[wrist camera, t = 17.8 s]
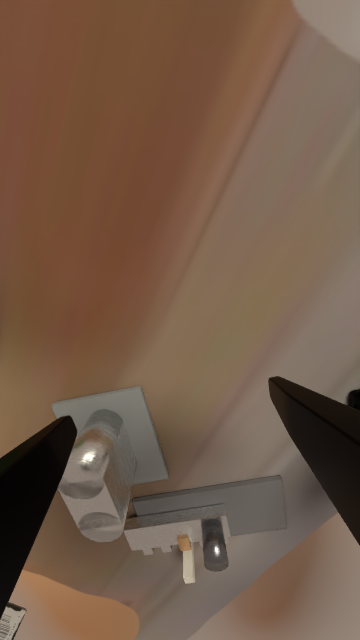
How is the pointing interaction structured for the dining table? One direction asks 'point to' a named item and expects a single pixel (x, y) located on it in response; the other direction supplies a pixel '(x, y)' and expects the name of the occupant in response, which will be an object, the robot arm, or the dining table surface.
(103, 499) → the chain link
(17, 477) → the robot arm
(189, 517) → the rack
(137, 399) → the pad
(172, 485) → the dining table surface
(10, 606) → the candy bar box
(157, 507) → the rail base
